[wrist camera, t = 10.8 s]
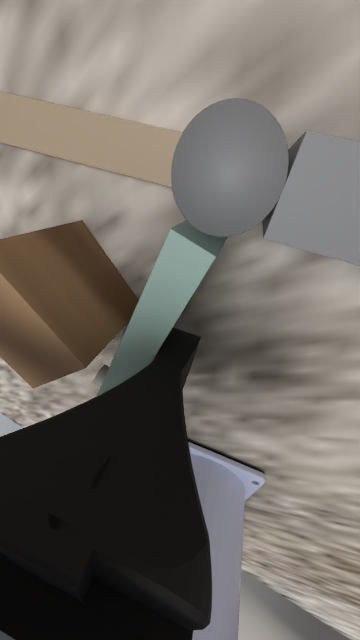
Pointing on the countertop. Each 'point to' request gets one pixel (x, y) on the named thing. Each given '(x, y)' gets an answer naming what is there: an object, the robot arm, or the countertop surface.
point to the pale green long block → (161, 301)
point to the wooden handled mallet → (215, 168)
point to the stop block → (58, 302)
